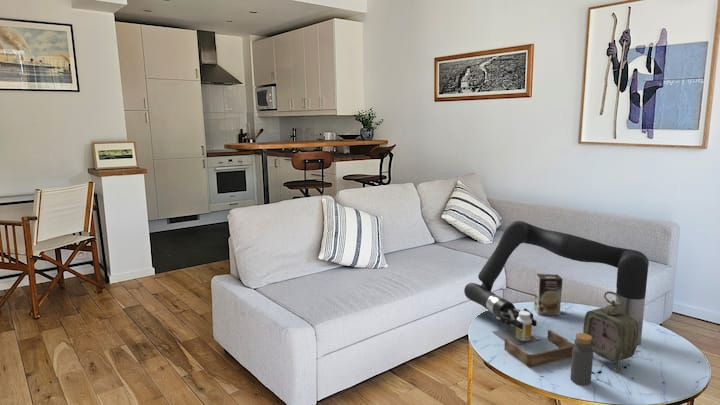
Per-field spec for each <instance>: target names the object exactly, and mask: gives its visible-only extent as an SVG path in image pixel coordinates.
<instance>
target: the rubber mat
mask: <svg viewBox="0 0 720 405" xmlns="http://www.w3.org/2000/svg"><path fill="white" fill-rule="evenodd" d="M491 333H493V334H494V335H495V336H497V337H499V338H500V339H501V340H503V341H504V342H505V339H508V340H510V341H511V342H513V343H514V344H516V345H517V346H520V345H525V344H528V343H534V342H540V339H538V338H537V337H535V336H534V335H532V334H531V339H530V340H527V341H524V340H520V339H518V338H517V337H516V326H512V327H509V328H504V329H498V330H494V331H492V332H491Z"/></svg>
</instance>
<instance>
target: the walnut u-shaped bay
mask: <svg viewBox="0 0 720 405" xmlns="http://www.w3.org/2000/svg"><path fill="white" fill-rule="evenodd" d="M546 340H547V341H548V342H549V343H551V344H553V345H554V346H556V347H557V348H552V349H549V350H544V351H540V352H535V353H528V352H527V351H526V350H524V349H523V348H521V347H520V346H519V345H516V344H514V343H513V342H511V341H510V340H508V339H505V341H504V351H506V352H507V353H509V355H511V356H512V357H514V358H515V359H516V360H518V361H519V362H521V363H522V364H523V365H525V366H526V367H528V368H532V367H536V366H541V365H545V364H550V363H554V362H558V361H561V360H567V359H570V358H571V359H572V349H573V347H574V346H575V344H574V342H571V341H570V340H568V339H567V338H565V337H564V336H561V335H559V334H558V333H557V332H554V331H553V330H551V329H548V330H547V339H546Z"/></svg>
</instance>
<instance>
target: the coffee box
mask: <svg viewBox="0 0 720 405" xmlns="http://www.w3.org/2000/svg"><path fill="white" fill-rule="evenodd" d="M535 277H536V278H535V289H534V290H535V291H534V302H533V303H534V304H533V311H535V313H536V314H537V316H539V315H540V316H560V315H561V305H562V304H561V303H562V291H563V278H562V277H561V276H560V275H559V274H553V273H552V274H549V273H548V274H547V273H536V275H535Z"/></svg>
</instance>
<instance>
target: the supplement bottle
mask: <svg viewBox="0 0 720 405" xmlns="http://www.w3.org/2000/svg"><path fill="white" fill-rule="evenodd" d="M517 320H518V321H519V322H521V323H522V324H523V329H519V328H517V327H516V326H515V327H516V337H517V338H518V339H520V340H524V341H527V340H530V339H531V335H532V327H533V326H532V320H531V319H530V313H529V312H527V311H524V310H520V312H519V317H517Z"/></svg>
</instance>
